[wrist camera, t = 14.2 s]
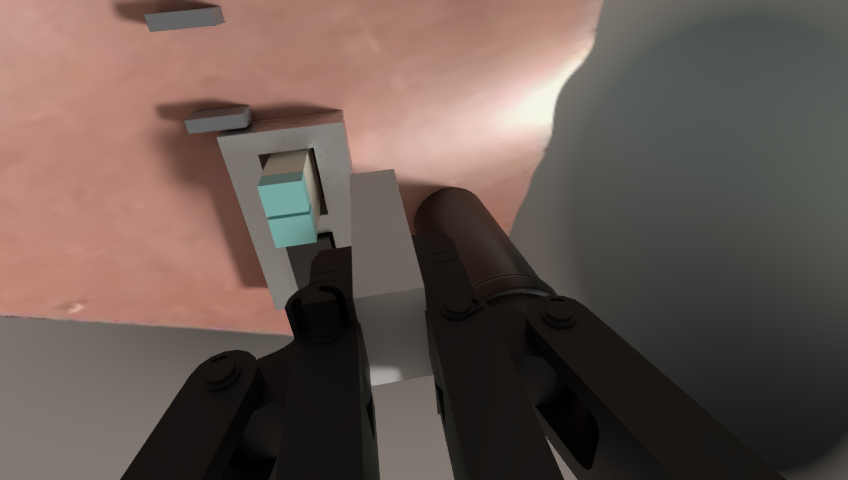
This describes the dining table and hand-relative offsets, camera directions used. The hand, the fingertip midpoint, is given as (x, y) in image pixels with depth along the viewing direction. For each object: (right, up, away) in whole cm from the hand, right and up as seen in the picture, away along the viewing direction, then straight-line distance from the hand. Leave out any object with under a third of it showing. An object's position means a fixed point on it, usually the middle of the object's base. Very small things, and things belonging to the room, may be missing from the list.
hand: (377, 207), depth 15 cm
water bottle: (+5, +1, +35) cm, 36 cm away
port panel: (-11, +2, +31) cm, 33 cm away
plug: (-11, +6, +29) cm, 32 cm away
